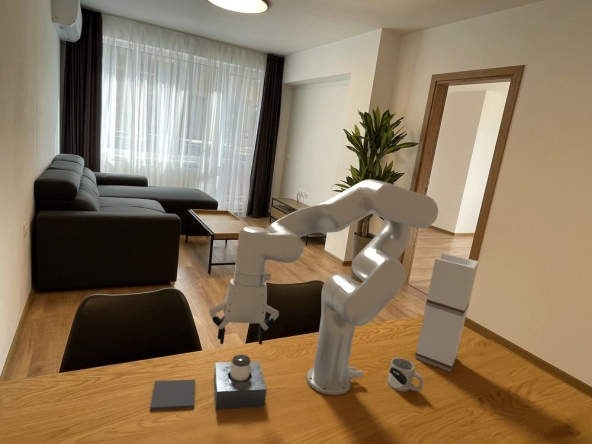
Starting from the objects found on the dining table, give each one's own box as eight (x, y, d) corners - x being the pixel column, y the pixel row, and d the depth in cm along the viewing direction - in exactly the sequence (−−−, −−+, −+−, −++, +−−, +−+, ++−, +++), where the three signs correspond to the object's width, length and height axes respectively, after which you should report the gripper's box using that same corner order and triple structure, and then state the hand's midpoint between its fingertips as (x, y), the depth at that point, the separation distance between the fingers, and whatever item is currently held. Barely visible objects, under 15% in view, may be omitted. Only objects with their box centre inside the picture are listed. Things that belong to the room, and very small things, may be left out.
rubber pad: (194, 382, 101) (195, 379, 101) (194, 408, 91) (194, 405, 91) (154, 383, 98) (155, 381, 98) (149, 410, 89) (150, 407, 89)
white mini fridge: (456, 358, 130) (478, 261, 123) (450, 372, 121) (474, 268, 114) (422, 346, 136) (442, 252, 129) (414, 358, 127) (435, 258, 120)
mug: (383, 383, 111) (387, 362, 110) (394, 374, 116) (398, 355, 115) (415, 401, 105) (419, 379, 103) (425, 391, 110) (429, 371, 108)
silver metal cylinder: (246, 386, 102) (250, 353, 100) (248, 398, 97) (252, 364, 95) (227, 386, 101) (230, 354, 99) (229, 399, 96) (232, 365, 94)
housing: (257, 377, 106) (259, 361, 105) (264, 406, 95) (266, 389, 94) (213, 379, 103) (215, 362, 102) (215, 409, 92) (217, 391, 91)
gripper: (280, 274, 98) (271, 334, 102) (212, 270, 94) (205, 333, 97) (286, 285, 91) (277, 349, 95) (213, 281, 87) (205, 349, 90)
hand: (240, 341), depth 96 cm, fingers open, 9 cm apart
